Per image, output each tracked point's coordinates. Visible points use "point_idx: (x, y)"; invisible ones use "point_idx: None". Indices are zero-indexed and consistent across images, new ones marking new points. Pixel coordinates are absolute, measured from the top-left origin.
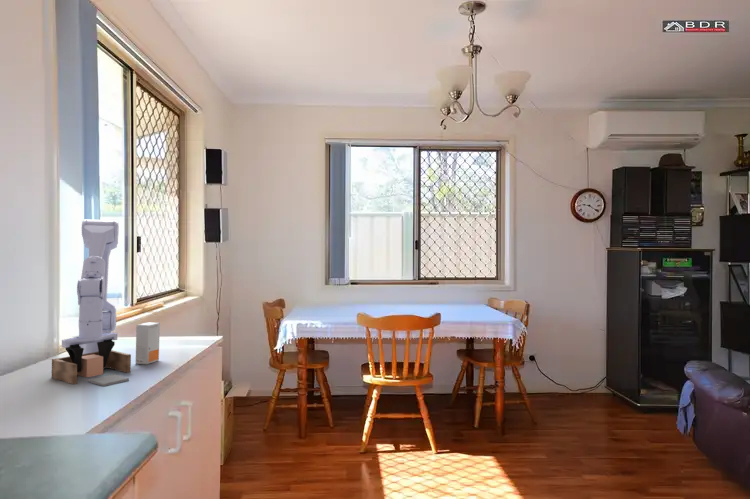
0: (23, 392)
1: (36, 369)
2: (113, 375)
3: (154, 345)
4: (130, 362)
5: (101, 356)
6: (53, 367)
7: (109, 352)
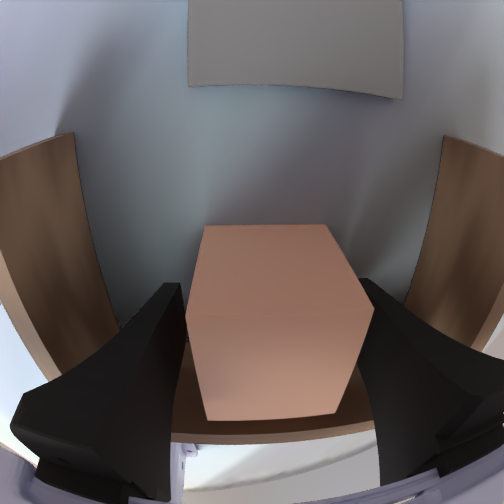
0: None
1: (329, 441)
2: (214, 51)
3: None
4: (10, 153)
5: (197, 331)
6: None
7: (100, 352)
